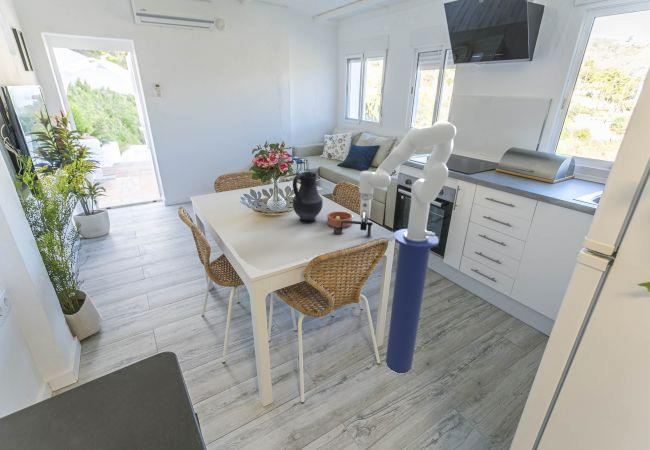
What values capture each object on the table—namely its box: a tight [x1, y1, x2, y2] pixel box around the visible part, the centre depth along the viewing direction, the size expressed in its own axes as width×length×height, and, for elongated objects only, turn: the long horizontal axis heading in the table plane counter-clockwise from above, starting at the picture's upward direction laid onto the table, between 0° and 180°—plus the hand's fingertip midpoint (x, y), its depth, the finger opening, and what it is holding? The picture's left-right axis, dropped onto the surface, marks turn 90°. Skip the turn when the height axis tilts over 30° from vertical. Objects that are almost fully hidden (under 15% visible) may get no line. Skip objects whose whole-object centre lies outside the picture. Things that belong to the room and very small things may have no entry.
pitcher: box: [292, 171, 324, 224], centre depth 182 cm, size 17×21×30 cm
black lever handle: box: [333, 220, 374, 238], centre depth 170 cm, size 21×5×8 cm, turn 80°
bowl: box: [326, 211, 353, 229], centre depth 184 cm, size 15×15×5 cm
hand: (363, 227), depth 168 cm, fingers open, 6 cm apart
